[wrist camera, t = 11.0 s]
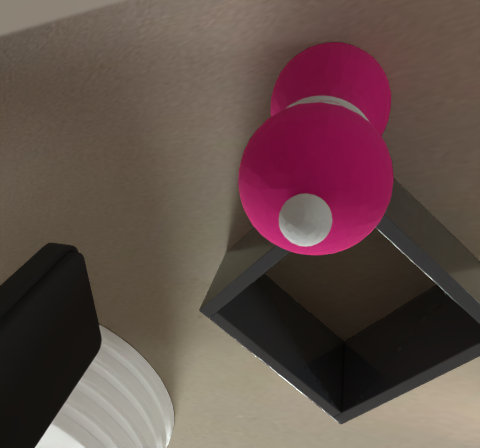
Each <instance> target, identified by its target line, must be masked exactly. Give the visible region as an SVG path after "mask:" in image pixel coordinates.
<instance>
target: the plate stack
mask: <svg viewBox="0 0 480 448" xmlns="http://www.w3.org/2000/svg"><path fill="white" fill-rule="evenodd" d="M99 328H100V332H101V337H102V342H101V347H100V350H99V352H98V354H97V355H96V357H95V358H94V360H93V361H92V363H91V364H90V366H89V367H88V369H87V370H86V372H85V373H84V375H83V376H82V378H81V379H80V381H79V382H78V384H77V385H76V387H75V388H74V390H73V391H72V393H71V394H70V396H69V397H68V399H67V400H66V402H65V403H64V405H63V406H62V408H61V409H60V411H59V412H58V414H57V415H56V417H55V418H54V420H53V421H52V423H51V424H50V426H49V427H48V429H47V430H46V432H45V433H44V435H43V436H42V438H41V439H40V441H39V442H38V444H37V445H36V447H35V448H166V447H167V445H168V443H169V440H170V438H171V435H172V432H173V428H174V410H173V406H172V402H171V399H170V396H169V394H168V392H167V390H166V387H165V386H164V384H163V382H162V381H161V379H160V377H159V376H158V374H157V373H156V372H155V370H154V369H153V368H152V367H151V365H150V364H149V363H148V362H147V361H146V360H145V359H144V358H143V357H142V356H141V355H140V354H139V353H138V352H137V351H136V350H135V349H134V348H133V347H131V346H130V345H129V344H128V343H127V342H125V341H124V340H123V339H121V338H120V337H119V336H117V335H116V334H114V333H113V332H111V331H110V330H108V329H106V328H105V327H103V326H101V325H99Z"/></svg>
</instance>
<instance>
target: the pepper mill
mask: <svg viewBox="0 0 480 448" xmlns="http://www.w3.org/2000/svg"><path fill="white" fill-rule="evenodd" d="M390 108H391V91H390V86H389V82H388V79H387V77H386V74H385V72H384V71H383V69H382V68H381V66H380V65H379V63H378V62H377V61H376V60H375V59H374V58H373V57H372V56H370V55H369V54H368V53H367V52H365V51H363V50H361V49H360V48H358V47H355V46H353V45H350V44H346V43H341V42H331V43H324V44H318V45H315V46H313V47H310V48H307V49H306V50H304V51H302V52H300V53H299V54H297V55H296V56H295V57H294V58H293V59H292V60H290V61H289V62H288V63H287V65H286V66H285V67H284V69H283V70H282V71H281V73H280V75H279V77H278V79H277V81H276V83H275V86H274V89H273V93H272V97H271V110H270V112H271V117H270V118H268V119H267V120H266V121H265V122H264V123H263V124H262V125H261V126H260V127H259V128H258V129H257V130H256V132H255V133H254V134H253V136H252V137H251V138H250V140H249V142H248V144H247V146H246V148H245V150H244V153H243V156H242V160H241V163H240V168H239V178H238V185H239V193H240V198H241V201H242V205H243V208H244V210H245V212H246V214H247V216H248V218H249V219H250V221H251V223H252V225H253V226H254V227H255V228H256V229H257V230H258V232H259V233H260V234H261V235H262V236H263V237H265V238H266V239H268V240H269V241H270V242H272V243H273V244H275V245H277V246H279V247H281V248H283V249H285V250H288V251H291V252H294V253H298V254H305V255H325V254H333V253H336V252H340V251H343V250H346V249H348V248H350V247H352V246H353V245H355V244H357V243H359V242H360V241H361V240H363V239H364V238H365V237H366V236H367V235H369V234H370V233H371V232H372V231H373V229H374V228H375V227H376V226H377V225H378V223H379V222H380V221H381V219H382V217H383V215H384V213H385V211H386V209H387V207H388V204H389V202H390V199H391V195H392V187H393V167H392V160H391V157H390V154H389V151H388V149H387V146H386V144H385V142H384V140H383V138H382V137H381V136H382V134H383V132H384V130H385V128H386V125H387V122H388V119H389V114H390Z"/></svg>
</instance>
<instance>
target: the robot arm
mask: <svg viewBox="0 0 480 448" xmlns="http://www.w3.org/2000/svg"><path fill="white" fill-rule="evenodd" d="M101 342H102V337H101V332H100V328H99V323H98V319H97V314H96V310H95V305H94V300H93V296H92V291H91V287H90V282H89V278H88V273H87V269H86V264H85V260H84V257H83V255H82V254H81V253H79V252H78V250H77V248H76V247H75V246H72V245H65V244H58V243H48V244H46V245H45V246H44V247H42V248H41V249H40V250H39V251H38V252H37V253H36V254H35V255H34V256H33V257H31V258H30V259H29V260H28V261H27V262H26V263H25V264H24V265H23V266H22V267H20V268H19V269H18V270H17V271H16V272H15V273H14V274H13V275H12V276H11V277H10V278H8V279H7V280H6V281H5V282H4V283H3V284H2V285H1V286H0V448H35V447H36V445H37V444H38V442H39V441H40V439H41V438H42V436H43V435H44V433H45V432H46V430H47V429H48V427H49V426H50V424H51V423H52V421H53V420H54V418H55V417H56V415H57V414H58V412H59V411H60V409H61V408H62V406H63V405H64V403H65V402H66V400H67V399H68V397H69V396H70V394H71V393H72V391H73V390H74V388H75V387H76V385H77V384H78V382H79V381H80V379H81V378H82V376H83V375H84V373H85V372H86V370H87V369H88V367H89V366H90V364H91V363H92V361H93V360H94V358H95V357H96V355H97V354H98V352H99V350H100V347H101Z"/></svg>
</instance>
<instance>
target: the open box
mask: <svg viewBox="0 0 480 448" xmlns="http://www.w3.org/2000/svg"><path fill="white" fill-rule="evenodd" d="M376 228H377V229H378V230H379V231H380V232H381V233H382V234H383V235H384V236H385V237H386V238H387V239H388V240H390V241H391V242H392V243H393V244H394V245H395V246H396V247H397V248H398V249H399V250H400V251H401V252H402V253H404V254H405V255H406V256H407V257H408V258H409V259H410V260H411V261H412V262H413V263H414V264H415V265H416V266H418V267H419V268H420V269H421V270H422V271H423V272H424V273H425V274H426V275H427V276H428V277H429V278H430V279H432V280H433V281H434V282H435V283H436V284H437V285H436V286H435V287H433V288H431V289H430V290H428V291H426V292H425V293H423V294H422V295H420V296H418V297H417V298H415V299H413V300H412V301H410V302H409V303H407V304H405V305H404V306H402V307H400V308H399V309H397V310H396V311H394V312H392V313H391V314H389V315H387V316H386V317H384V318H383V319H381V320H379V321H378V322H376V323H374V324H373V325H371V326H370V327H368V328H366V329H365V330H363V331H361V332H360V333H358V334H357V335H355V336H353V337H352V338H350V339H348V340H347V341H345V342H343V341H342V340H341V339H340V338H339V337H338V336H336V335H335V334H334V333H333V332H332V331H330V330H329V329H328V328H327V327H326V326H325V325H323V324H322V323H321V322H320V321H319V320H318V319H316V318H315V317H314V316H313V315H312V314H310V313H309V312H308V311H307V310H306V309H305V308H303V307H302V306H301V305H300V304H299V303H298V302H296V301H295V300H294V299H293V298H292V297H291V296H289V295H288V294H287V293H286V292H285V291H283V290H282V289H281V288H280V287H279V286H278V285H276V284H275V283H274V282H273V281H272V280H271V279H269V278H268V277H267V276H266V275H265V274H264V273H265V272H266V271H267V270H269V269H270V268H271V267H272V266H273V265H275V264H276V263H277V262H278V261H280V260H281V259H282V258H283V257H284V256H286V255H287V254H288V253H289V252H291V251H288V250H285V249H283V248H281V247H279V246H277V245H275V244H273V243H272V242H270V241H269V240H268V239H266V238H265V237H263V236H262V235H261V234H260V233H259V232H258V230H257V229H256V228H255V227H254V228H253V229H251V230H250V231H249V232H248V233H247V234H246V235H245V236H244V237H243V238H242V239H241V240H239V241H238V242H237V243H236V244H235V245H234V246H233V247H232V248H231V249H230V250H229V251H227V252H226V254H225V256H224V258H223V260H222V262H221V264H220V267H219V269H218V271H217V273H216V275H215V277H214V279H213V282H212V284H211V286H210V288H209V290H208V292H207V294H206V296H205V299H204V301H203V303H202V305H201V307H200V309H199V311H200V312H201V313H203V314H204V315H205V316H206V317H208V318H210V320H212V321H213V322H214V323H215V324H216V325H218V326H219V327H220V328H221V329H223V330H224V331H225V332H226V333H228V334H229V335H230V336H231V337H233V338H234V339H235V340H236V341H238V342H239V343H240V344H241V345H243V346H244V347H245V348H246V349H248V350H249V351H250V352H251V353H253V354H254V355H255V356H256V357H258V358H259V359H260V360H261V361H262V362H264V363H265V364H266V365H267V366H269V367H270V368H271V369H272V370H274V371H275V372H276V373H277V374H279V375H280V376H281V377H282V378H284V379H285V380H286V381H287V382H289V383H290V384H291V385H292V386H294V387H295V388H296V389H297V390H299V391H300V392H301V393H302V394H303V395H305V396H306V397H307V398H308V399H310V400H311V401H312V402H313V403H315V404H316V405H317V406H318V407H320V408H321V409H322V410H323V411H325V412H326V413H327V414H328V415H330V416H331V417H333V419H335V420H336V421H337V422H338V423H340V424H343V423H345V422H347V421H349V420H351V419H353V418H356V417H358V416H360V415H362V414H364V413H366V412H368V411H370V410H372V409H374V408H376V407H378V406H380V405H382V404H384V403H386V402H388V401H390V400H392V399H394V398H396V397H398V396H400V395H402V394H404V393H406V392H408V391H410V390H412V389H414V388H416V387H418V386H420V385H422V384H425V383H427V382H429V381H431V380H433V379H435V378H437V377H439V376H441V375H443V374H445V373H447V372H449V371H451V370H453V369H455V368H457V367H459V366H461V365H463V364H465V363H467V362H469V361H471V360H473V359H475V358H477V357H479V356H480V261H479V260H478V259H477V258H476V257H475V256H474V255H473V254H472V253H471V252H470V251H469V250H468V249H467V248H466V247H465V246H464V245H463V244H462V243H461V242H460V241H459V240H458V239H457V238H456V237H454V236H453V235H452V234H451V233H450V232H449V231H448V230H447V229H446V228H445V227H444V226H443V225H442V224H441V223H440V222H439V221H438V220H437V219H436V218H435V217H434V216H433V215H432V214H431V213H430V212H429V211H428V210H427V209H425V208H424V207H423V206H422V205H421V204H420V203H419V202H418V201H417V200H416V199H415V198H414V197H413V196H412V195H411V194H410V193H409V192H408V191H407V190H406V189H405V188H404V187H403V186H402V185H401V184H400V183H399V182H397V181H396V180H395V179H394V178H393V187H392V195H391V199H390V202H389V204H388V207H387V209H386V211H385V213H384V215H383V217H382V219H381V221H380V222H379V223H378V225H377V226H376Z"/></svg>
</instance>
